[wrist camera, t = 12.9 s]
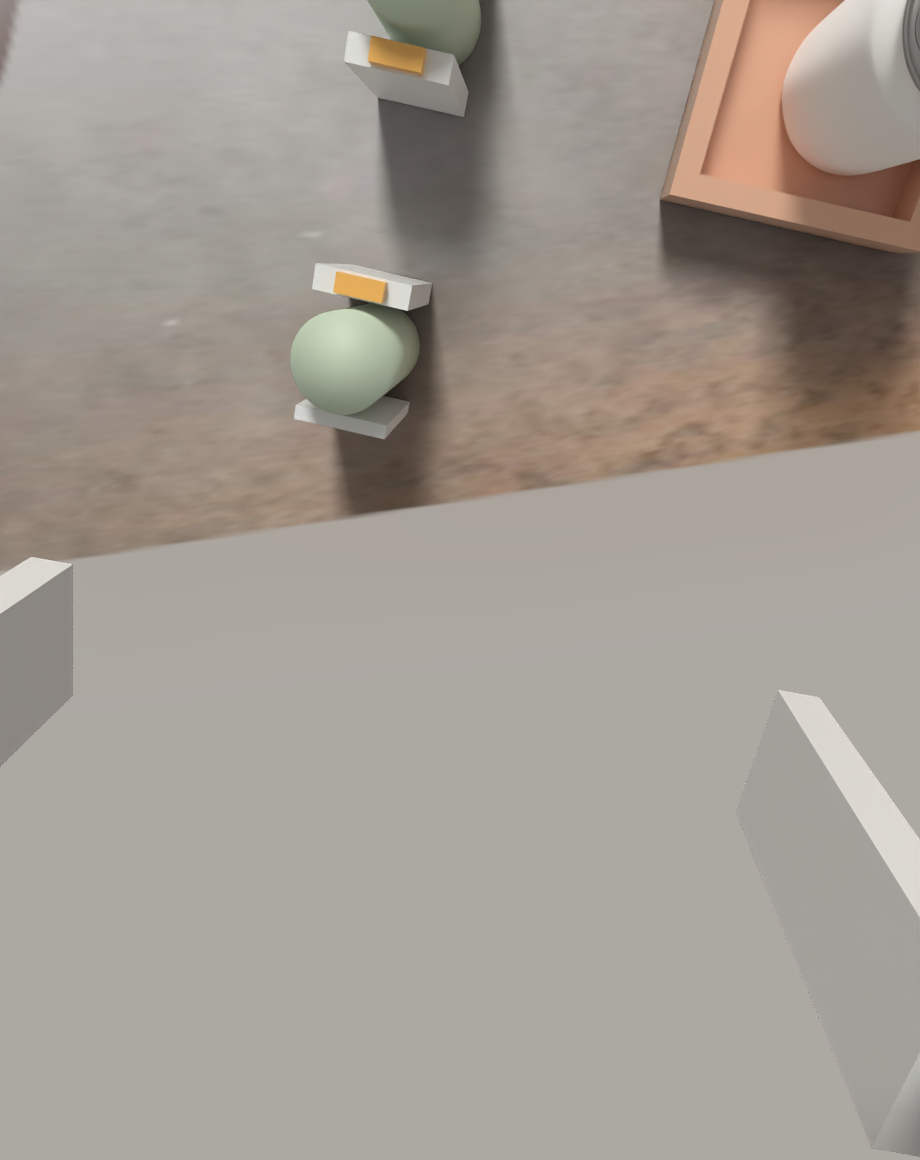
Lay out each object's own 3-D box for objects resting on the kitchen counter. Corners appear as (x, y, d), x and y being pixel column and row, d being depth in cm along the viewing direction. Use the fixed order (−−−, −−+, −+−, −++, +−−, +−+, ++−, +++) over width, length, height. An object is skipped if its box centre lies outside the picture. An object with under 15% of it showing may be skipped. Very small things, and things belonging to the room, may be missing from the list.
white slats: (331, 395, 43) (290, 421, 36) (403, -71, 35) (370, -157, 28) (407, 413, 43) (381, 442, 36) (495, -51, 35) (485, -131, 28)
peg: (334, 376, 42) (284, 402, 34) (347, 294, 41) (297, 300, 32) (411, 393, 42) (380, 424, 34) (426, 312, 41) (398, 323, 32)
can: (777, 18, 35) (892, -101, 24) (942, -11, 34) (1142, -148, 23) (778, 188, 37) (883, 153, 26) (934, 164, 36) (1112, 118, 25)
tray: (660, 199, 38) (669, 194, 35) (738, -89, 34) (756, -121, 31) (895, 253, 38) (923, 252, 35) (1001, -29, 34) (1042, -56, 31)
